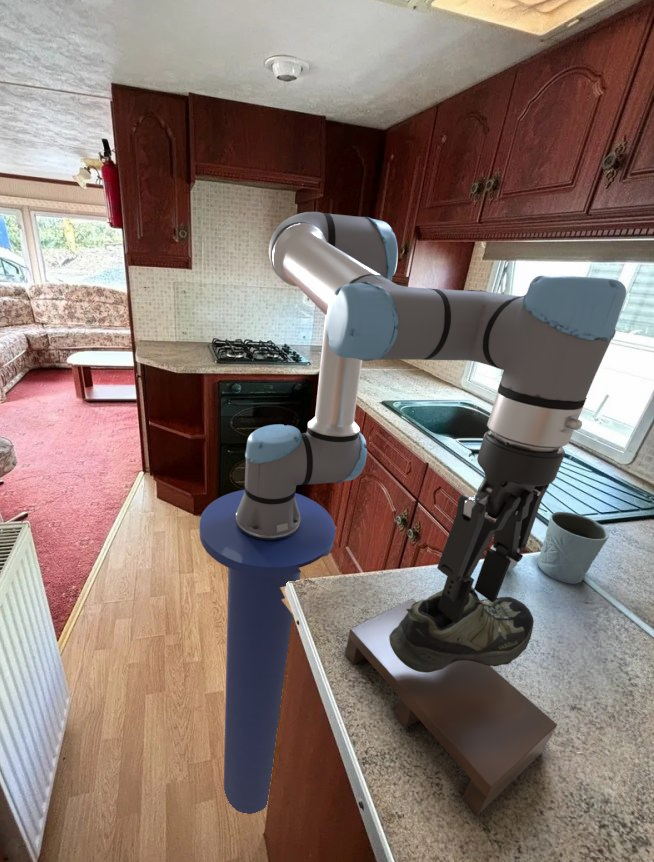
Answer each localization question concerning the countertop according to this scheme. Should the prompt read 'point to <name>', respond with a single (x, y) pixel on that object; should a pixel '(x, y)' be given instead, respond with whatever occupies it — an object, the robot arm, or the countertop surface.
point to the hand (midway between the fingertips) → (467, 604)
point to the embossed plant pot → (571, 546)
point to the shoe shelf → (459, 710)
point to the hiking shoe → (462, 633)
